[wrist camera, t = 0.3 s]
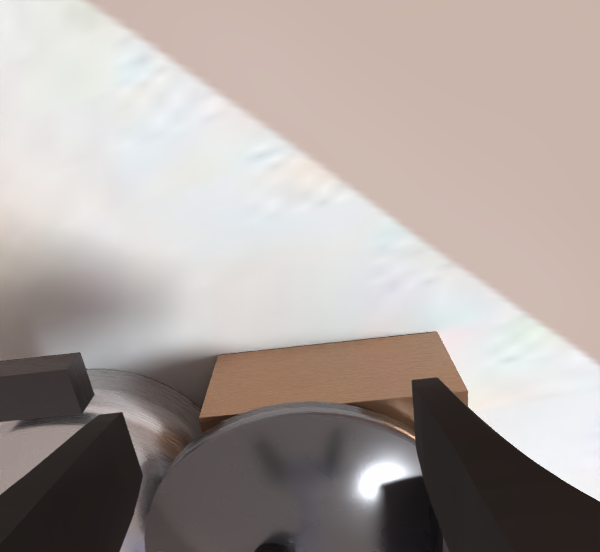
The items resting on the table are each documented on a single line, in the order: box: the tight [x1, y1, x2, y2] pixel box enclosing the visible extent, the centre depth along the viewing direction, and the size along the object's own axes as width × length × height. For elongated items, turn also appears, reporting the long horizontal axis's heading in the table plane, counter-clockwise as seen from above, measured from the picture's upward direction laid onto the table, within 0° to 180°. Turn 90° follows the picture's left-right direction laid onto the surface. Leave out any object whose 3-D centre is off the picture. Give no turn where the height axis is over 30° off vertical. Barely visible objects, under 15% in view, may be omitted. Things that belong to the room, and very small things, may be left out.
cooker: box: [0, 332, 468, 552], centre depth 23 cm, size 17×22×4 cm
